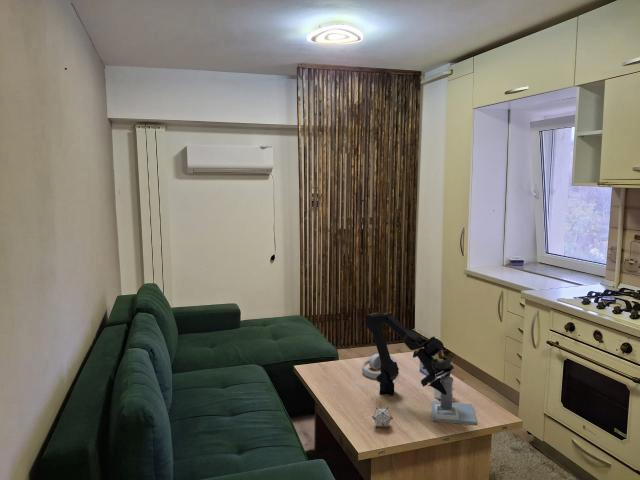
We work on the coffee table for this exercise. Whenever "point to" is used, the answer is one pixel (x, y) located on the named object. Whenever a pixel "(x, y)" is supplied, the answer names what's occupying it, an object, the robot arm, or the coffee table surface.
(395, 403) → the coffee table surface
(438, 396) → the white cup
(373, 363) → the headphones
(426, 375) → the medicine box
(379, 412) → the game die
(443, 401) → the grey tall cup
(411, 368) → the coffee table surface
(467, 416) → the grey base plate
